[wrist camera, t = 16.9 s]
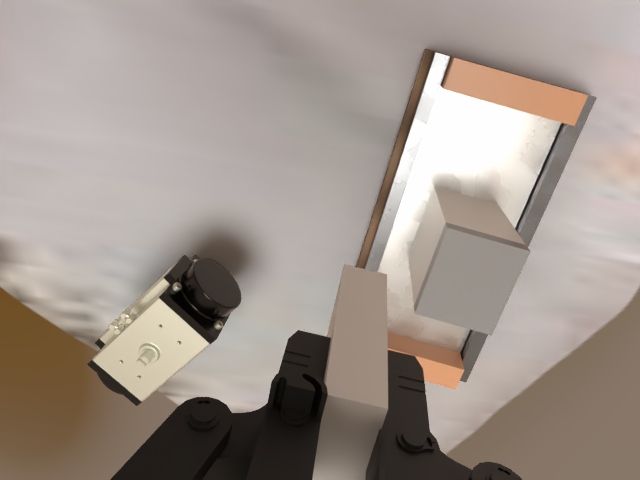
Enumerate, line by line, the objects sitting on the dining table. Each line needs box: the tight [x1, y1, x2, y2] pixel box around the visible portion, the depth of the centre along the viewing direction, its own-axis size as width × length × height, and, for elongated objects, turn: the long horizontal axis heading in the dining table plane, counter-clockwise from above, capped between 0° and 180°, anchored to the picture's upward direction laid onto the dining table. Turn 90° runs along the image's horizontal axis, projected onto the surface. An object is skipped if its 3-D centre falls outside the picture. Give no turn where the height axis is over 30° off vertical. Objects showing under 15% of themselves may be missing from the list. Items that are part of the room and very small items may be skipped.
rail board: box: [356, 49, 596, 389], centre depth 39 cm, size 24×12×4 cm, turn 165°
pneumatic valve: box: [88, 255, 241, 406], centre depth 40 cm, size 6×12×12 cm, turn 134°
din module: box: [408, 186, 530, 335], centre depth 36 cm, size 6×5×9 cm
